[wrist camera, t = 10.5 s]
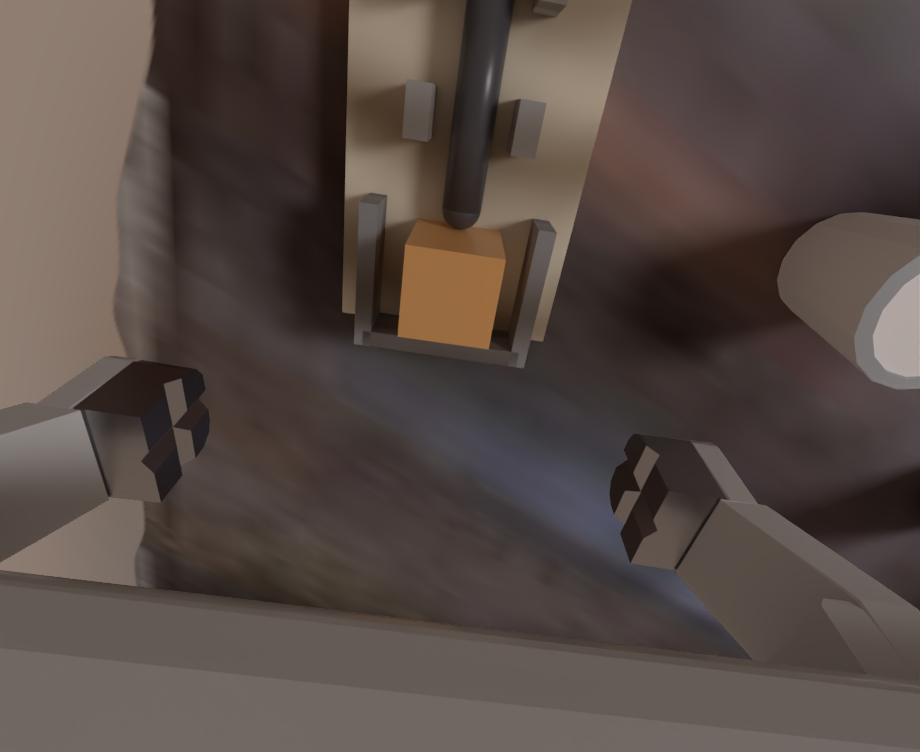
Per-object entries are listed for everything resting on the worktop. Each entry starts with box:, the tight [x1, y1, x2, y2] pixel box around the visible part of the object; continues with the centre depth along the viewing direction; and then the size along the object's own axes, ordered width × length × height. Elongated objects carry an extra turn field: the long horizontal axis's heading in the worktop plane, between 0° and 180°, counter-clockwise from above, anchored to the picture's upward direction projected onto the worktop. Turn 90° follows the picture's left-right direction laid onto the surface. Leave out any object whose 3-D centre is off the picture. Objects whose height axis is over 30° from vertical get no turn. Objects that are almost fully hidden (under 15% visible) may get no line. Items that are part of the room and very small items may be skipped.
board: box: [342, 0, 632, 368], centre depth 20 cm, size 20×11×4 cm, turn 172°
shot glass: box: [777, 212, 920, 390], centre depth 22 cm, size 7×7×7 cm
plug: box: [397, 0, 515, 349], centre depth 19 cm, size 15×4×5 cm, turn 172°
